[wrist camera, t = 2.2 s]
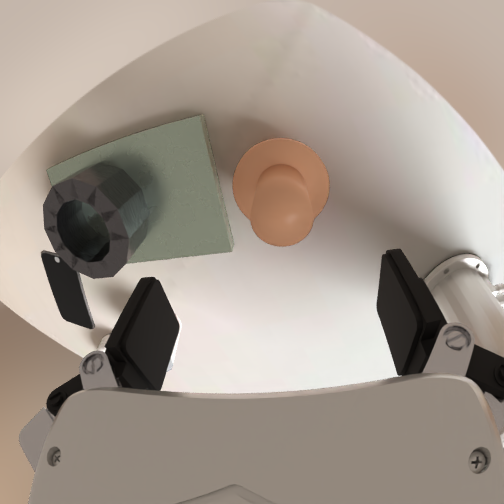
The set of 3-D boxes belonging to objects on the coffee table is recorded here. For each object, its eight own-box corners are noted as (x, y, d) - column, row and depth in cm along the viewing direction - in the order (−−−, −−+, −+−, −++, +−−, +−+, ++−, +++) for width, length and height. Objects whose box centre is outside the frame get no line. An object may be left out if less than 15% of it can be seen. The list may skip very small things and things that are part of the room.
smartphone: (74, 259, 34) (95, 331, 42) (77, 256, 35) (97, 328, 43) (38, 250, 34) (62, 319, 42) (41, 247, 35) (64, 317, 42)
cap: (317, 128, 24) (340, 150, 15) (325, 207, 28) (345, 264, 19) (231, 140, 25) (205, 168, 16) (247, 216, 29) (233, 276, 21)
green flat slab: (203, 114, 24) (181, 122, 18) (234, 244, 31) (224, 281, 25) (53, 165, 27) (18, 185, 21) (92, 261, 34) (67, 291, 29)
